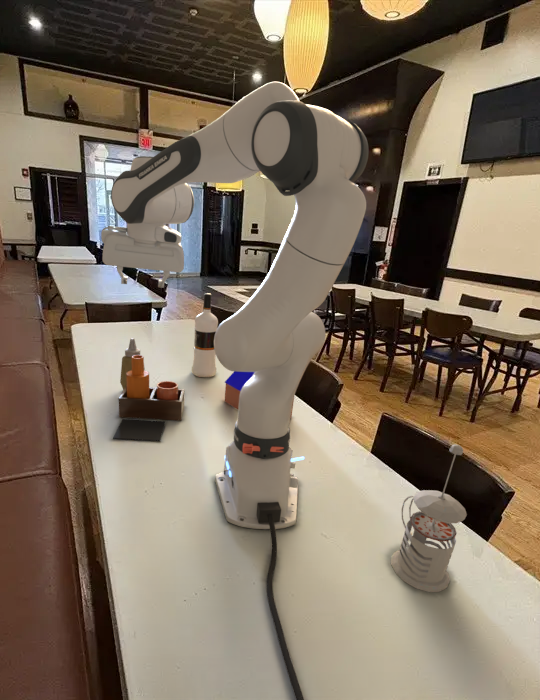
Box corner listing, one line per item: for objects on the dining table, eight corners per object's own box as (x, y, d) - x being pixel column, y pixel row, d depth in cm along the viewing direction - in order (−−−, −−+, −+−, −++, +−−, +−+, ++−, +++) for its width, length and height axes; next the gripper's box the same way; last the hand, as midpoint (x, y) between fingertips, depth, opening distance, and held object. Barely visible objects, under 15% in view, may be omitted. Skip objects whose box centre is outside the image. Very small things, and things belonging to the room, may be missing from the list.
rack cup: (176, 417, 120) (177, 389, 117) (155, 416, 119) (155, 388, 116) (178, 409, 125) (179, 381, 122) (158, 408, 125) (158, 380, 122)
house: (263, 426, 119) (267, 389, 115) (223, 401, 133) (225, 367, 129) (292, 417, 126) (297, 382, 122) (251, 394, 140) (254, 362, 136)
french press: (414, 597, 67) (455, 465, 58) (374, 545, 77) (403, 427, 68) (463, 586, 70) (509, 459, 61) (417, 538, 80) (451, 423, 71)
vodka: (210, 379, 150) (214, 297, 139) (187, 375, 153) (189, 293, 142) (219, 372, 158) (224, 293, 147) (198, 367, 161) (201, 290, 150)
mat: (159, 441, 107) (159, 440, 107) (112, 439, 106) (112, 437, 106) (165, 422, 117) (165, 420, 117) (122, 419, 116) (122, 418, 116)
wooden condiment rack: (181, 420, 118) (181, 401, 116) (119, 417, 117) (118, 398, 115) (184, 407, 127) (184, 389, 125) (126, 404, 126) (125, 385, 124)
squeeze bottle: (149, 388, 138) (149, 336, 132) (141, 398, 131) (140, 343, 124) (125, 386, 139) (124, 334, 132) (116, 395, 131) (114, 340, 125)
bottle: (147, 416, 119) (146, 360, 113) (125, 415, 119) (123, 359, 113) (150, 407, 125) (150, 354, 119) (130, 406, 125) (128, 352, 118)
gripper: (100, 226, 97) (100, 284, 103) (187, 237, 102) (182, 292, 108) (102, 222, 102) (101, 278, 108) (184, 233, 107) (179, 285, 114)
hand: (142, 285), depth 108 cm, fingers open, 8 cm apart
